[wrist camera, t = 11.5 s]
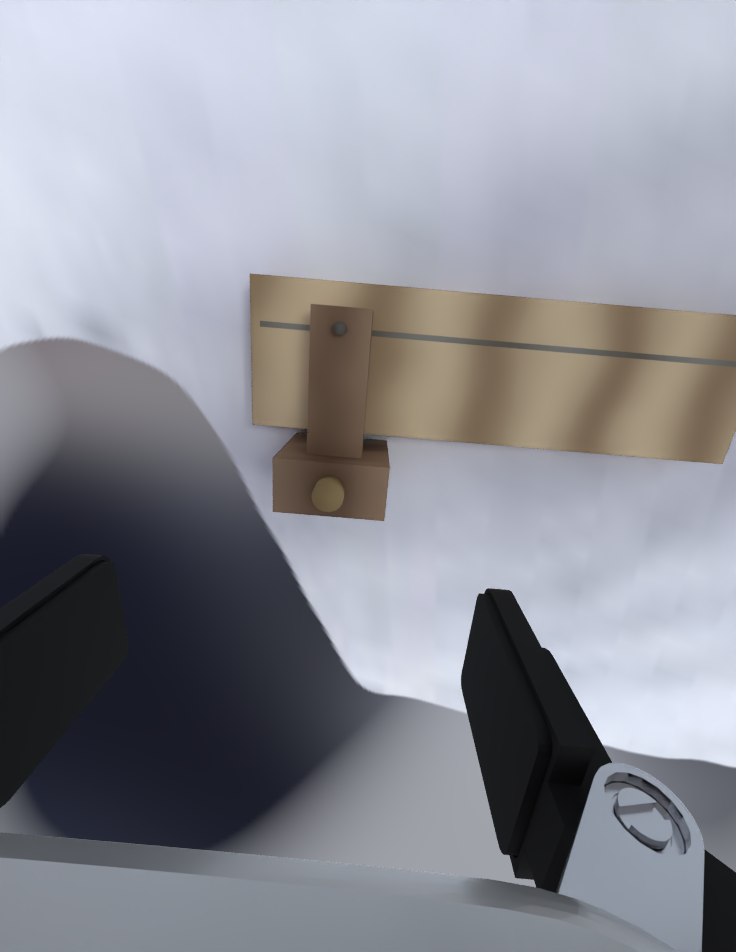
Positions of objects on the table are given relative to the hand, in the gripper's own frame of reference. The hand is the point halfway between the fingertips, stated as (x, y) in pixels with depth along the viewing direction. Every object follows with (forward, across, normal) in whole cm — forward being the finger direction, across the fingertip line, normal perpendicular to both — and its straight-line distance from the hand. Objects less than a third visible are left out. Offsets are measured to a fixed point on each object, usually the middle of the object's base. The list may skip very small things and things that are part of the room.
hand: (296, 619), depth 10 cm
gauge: (+17, 0, -3) cm, 17 cm away
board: (+17, -8, -6) cm, 19 cm away
